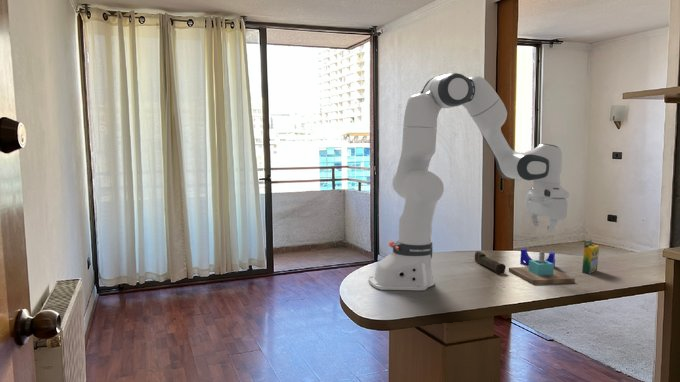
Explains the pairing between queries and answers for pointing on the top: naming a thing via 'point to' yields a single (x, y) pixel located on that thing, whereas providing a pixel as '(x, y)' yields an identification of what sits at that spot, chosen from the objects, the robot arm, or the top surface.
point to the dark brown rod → (489, 263)
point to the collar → (541, 267)
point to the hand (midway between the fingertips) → (542, 228)
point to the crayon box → (590, 257)
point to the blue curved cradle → (526, 258)
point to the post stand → (541, 279)
